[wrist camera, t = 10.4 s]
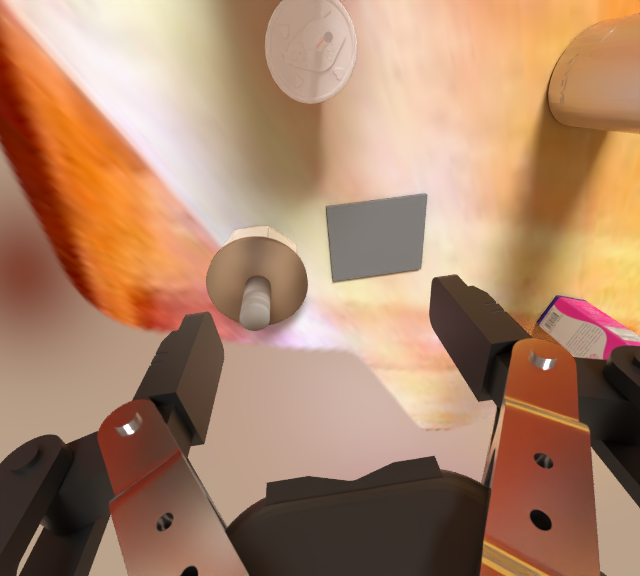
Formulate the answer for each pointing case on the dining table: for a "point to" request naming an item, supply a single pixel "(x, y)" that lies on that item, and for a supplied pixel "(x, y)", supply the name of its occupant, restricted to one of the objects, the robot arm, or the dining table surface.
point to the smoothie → (310, 48)
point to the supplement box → (584, 328)
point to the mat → (376, 236)
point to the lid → (257, 281)
